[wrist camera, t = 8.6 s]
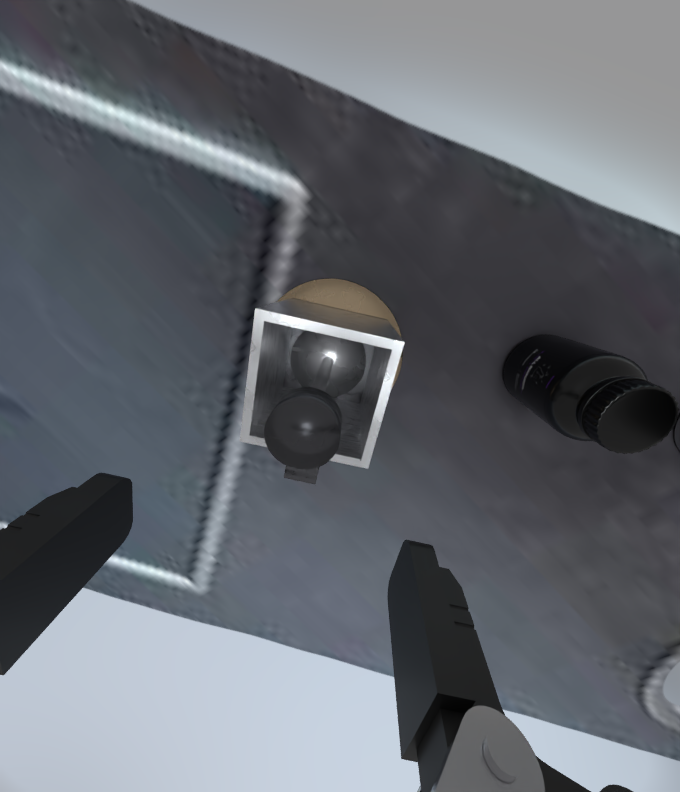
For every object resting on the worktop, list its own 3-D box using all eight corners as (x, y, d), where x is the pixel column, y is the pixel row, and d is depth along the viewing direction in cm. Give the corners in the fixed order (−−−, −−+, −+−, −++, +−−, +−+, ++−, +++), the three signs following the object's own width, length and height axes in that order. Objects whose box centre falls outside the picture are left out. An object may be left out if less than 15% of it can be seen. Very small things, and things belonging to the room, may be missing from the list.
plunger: (373, 331, 28) (391, 385, 14) (356, 401, 30) (355, 508, 16) (298, 314, 28) (237, 351, 14) (286, 385, 30) (224, 480, 16)
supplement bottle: (494, 347, 30) (575, 386, 19) (569, 323, 29) (702, 351, 18) (506, 409, 33) (585, 478, 21) (577, 390, 32) (699, 451, 20)
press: (420, 297, 29) (459, 309, 18) (380, 433, 34) (391, 509, 23) (271, 263, 29) (216, 252, 18) (252, 405, 34) (201, 468, 23)
